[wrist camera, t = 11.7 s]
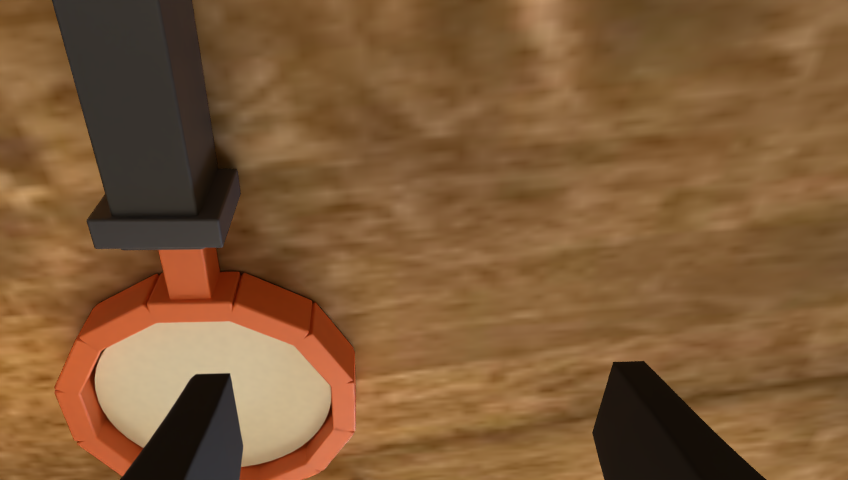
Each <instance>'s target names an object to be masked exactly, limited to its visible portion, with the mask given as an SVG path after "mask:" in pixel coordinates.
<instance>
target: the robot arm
mask: <svg viewBox="0 0 848 480" xmlns="http://www.w3.org/2000/svg"><path fill="white" fill-rule="evenodd" d="M592 433H593V437H594V441H595V445H596V449H597V453H598V457H599V461H600V465H601V469H602V472H603V476H604V479H605V480H766V479H765V478H764V477H763V476H761V475H760V474H759V473H758V472H757V471H756V470H755V469H754V468H753V467H751V466H750V465H749V464H748V463H747V462H746V461H745V460H744V459H743V458H742V457H740V456H739V455H738V454H737V453H736V452H735V451H734V450H733V449H732V448H731V447H730V446H729V445H728V444H727V443H726V442H725V441H724V440H723V439H721V438H720V437H719V436H718V435H717V434H716V433H715V432H714V431H713V430H712V429H711V428H710V427H709V426H708V425H707V424H706V423H705V422H704V421H703V420H702V419H701V418H700V417H699V416H698V415H697V414H696V413H695V412H694V411H693V410H692V409H691V408H690V407H689V406H688V405H687V404H686V403H685V402H684V401H683V400H682V399H681V398H680V397H679V396H678V395H677V394H676V393H675V392H674V391H673V390H672V389H671V388H670V387H669V386H668V385H667V384H666V383H665V382H664V381H663V380H662V379H661V378H660V377H659V376H658V375H657V374H656V373H655V372H654V371H653V370H652V369H651V368H650V367H649V366H648V365H647V364H646V363H645V362H644V361H635V362H613V365H612V368H611V372H610V375H609V378H608V382H607V385H606V388H605V392H604V395H603V399H602V402H601V405H600V409H599V412H598V415H597V419H596V422H595V425H594V429H593V432H592ZM242 454H243V441H242V436H241V430H240V425H239V419H238V414H237V408H236V403H235V397H234V391H233V386H232V380H231V375H230V373H216V374H195V375H194V376H193V377H192V378H191V379H190V380H189V382H188V383H187V385H186V386H185V388H184V390H183V391H182V393H181V394H180V396H179V397H178V399H177V400H176V402H175V404H174V405H173V407H172V408H171V410H170V411H169V413H168V414H167V416H166V417H165V418H164V420H163V421H162V423H161V424H160V426H159V427H158V429H157V430H156V431H155V433H154V434H153V436H152V437H151V439H150V440H149V441H148V443H147V444H146V446H145V447H144V448H143V450H142V451H141V452H140V454H139V455H138V456H137V458H136V459H135V460H134V462H133V463H132V464H131V466H130V467H129V468H128V470H127V471H126V473H125V474H124V475H123V477H122V478H121V479H120V480H239V479H240V471H241V463H242Z"/></svg>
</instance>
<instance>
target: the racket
mask: <svg viewBox="0 0 848 480" xmlns="http://www.w3.org/2000/svg"><path fill="white" fill-rule="evenodd" d="M52 2H53V6H54V10H55V13H56V17H57V20H58V24H59V28H60V31H61V35H62V39H63V42H64V46H65V49H66V53H67V57H68V60H69V64H70V67H71V71H72V75H73V78H74V82H75V86H76V89H77V93H78V96H79V100H80V104H81V107H82V111H83V115H84V118H85V122H86V125H87V129H88V133H89V136H90V140H91V143H92V147H93V151H94V154H95V158H96V162H97V165H98V169H99V172H100V176H101V180H102V183H103V187H104V191H105V195H104V196H103V198H102V199H101V201H100V202H99V203H98V205H97V206H96V208H95V209H94V211H93V212H92V213H91V215H90V216H89V218H88V219H87V224H88V227H89V230H90V234H91V237H92V240H93V244H94V247H95V248H96V249H121V250H158V252H159V256H160V260H161V264H162V268H163V273H161V274H160V276H159V275H158V274H155V275H153V276H151V277H149V278H147V279H145V280H143V281H141V282H139V283H137V284H135V285H133V286H132V287H130V288H128V289H126V290H124V291H122V292H120V293H118V294H116V295H114V296H112V297H110V298H108V299H106V300H104V301H103V302H101V303H99V304H97V305H96V307H94V308H93V309H92V311H91V313H90V315H89V316H88V318H87V320H86V322H85V324H84V325H83V327H82V329H81V331H80V333H79V334H78V336H77V338H76V340H75V342H74V344H73V346H72V349H71V351H70V353H69V355H68V358H67V360H66V362H65V364H64V367H63V369H62V371H61V373H60V376H59V378H58V380H57V382H56V385H55V395H56V397H57V400H58V402H59V405H60V407H61V410H62V412H63V414H64V417H65V419H66V422H67V424H68V426H69V429H70V431H71V434H72V436H73V439H74V440H75V441H78V442H77V444H78V445H79V446H81V447H82V448H83V449H85V450H86V451H88V452H89V453H90V454H92V455H93V456H95V457H96V458H97V459H99V460H100V461H102V462H103V463H104V464H106V465H107V466H108V467H110V468H111V469H113V470H114V471H115V472H117V473H118V474H120V475H121V476H122V477H123V475H124V474H125V473H126V471H127V470H128V468H129V467H130V466H131V464H132V463H133V462H134V460H135V459H136V458H137V456H138V455H139V454H140V452H141V451H142V450H143V448H144V447H145V446H146V444H147V443H148V441H149V440H150V439H151V437H152V436H153V434H154V433H155V431H156V430H157V429H158V427H159V426H160V424H161V423H162V421H163V420H164V418H165V417H166V416H167V414H168V413H169V411H170V410H171V408H172V407H173V405H174V404H175V402H176V400H177V399H178V397H179V396H180V394H181V393H182V391H183V390H184V388H185V386H186V385H187V383H188V382H189V380H190V379H191V378H192V377H193V376H194V375H195V374H216V373H230V375H231V380H232V386H233V391H234V397H235V403H236V408H237V414H238V419H239V425H240V430H241V436H242V441H243V454H242V463H241V471H240V479H239V480H303V479H306V478H308V477H311V476H313V475H315V474H318V473H319V472H320V471H323V470H324V469H325V468H326V467H327V465H328V464H329V463H330V462H331V461H332V459H333V458H334V457H335V456H336V454H337V453H338V452H339V451H340V450H341V448H342V447H343V446H344V445H345V444H346V442H347V441H348V440H349V439H350V438H351V436H352V435H353V434H354V431H355V429H356V382H355V351H354V350H353V347H352V345H351V344H350V343H349V342H348V341H347V339H346V338H345V337H344V336H343V335H342V333H341V332H340V331H339V330H338V329H337V327H336V326H335V325H334V324H333V323H332V321H331V320H330V319H329V318H328V317H327V315H326V314H325V313H324V312H323V311H322V309H321V308H320V307H319V306H318V305H317V303H313V304H312V300H310V299H307V298H305V297H302V296H300V295H298V294H295V293H293V292H290V291H288V290H285V289H283V288H281V287H278V286H276V285H273V284H271V283H269V282H266V281H264V280H261V279H259V278H256V277H254V276H252V275H249V274H247V273H243V274H242V276H240V272H220V268H219V263H218V257H217V251H216V248H221V247H223V245H224V242H225V239H226V236H227V233H228V230H229V227H230V224H231V221H232V218H233V215H234V212H235V209H236V206H237V203H238V200H239V197H240V194H241V193H240V185H239V178H238V171H237V169H218V165H217V158H216V152H215V146H214V139H213V133H212V126H211V120H210V114H209V107H208V101H207V95H206V88H205V82H204V75H203V69H202V63H201V56H200V50H199V43H198V37H197V31H196V24H195V18H194V11H193V5H192V0H52ZM103 349H105V350H104V351H103V353H102V355H101V356H100V354H101V352H102V350H103ZM99 356H100V359H99V362H98V363H97V360H98V358H99Z"/></svg>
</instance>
